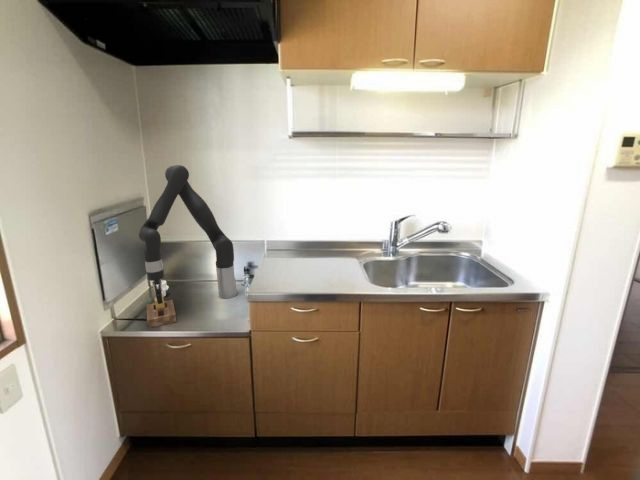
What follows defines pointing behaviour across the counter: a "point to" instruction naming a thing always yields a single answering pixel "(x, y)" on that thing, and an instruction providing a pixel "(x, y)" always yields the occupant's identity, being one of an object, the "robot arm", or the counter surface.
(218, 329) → the counter surface
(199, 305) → the counter surface
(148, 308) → the socket block
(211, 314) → the counter surface
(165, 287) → the pipe fitting
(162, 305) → the square peg
